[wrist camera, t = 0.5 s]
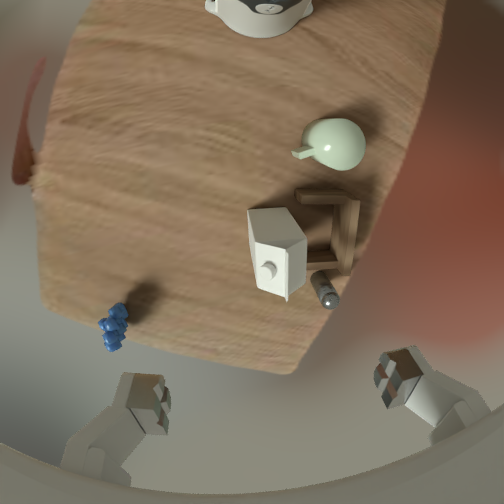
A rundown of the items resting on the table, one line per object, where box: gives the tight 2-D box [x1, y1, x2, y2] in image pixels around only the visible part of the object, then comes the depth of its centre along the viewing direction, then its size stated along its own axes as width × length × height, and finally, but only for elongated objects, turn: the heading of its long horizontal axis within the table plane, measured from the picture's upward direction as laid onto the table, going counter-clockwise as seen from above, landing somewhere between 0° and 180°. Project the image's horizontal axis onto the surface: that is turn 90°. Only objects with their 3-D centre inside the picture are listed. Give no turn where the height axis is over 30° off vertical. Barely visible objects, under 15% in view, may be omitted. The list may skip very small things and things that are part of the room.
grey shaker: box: [310, 271, 340, 309], centre depth 54 cm, size 4×4×10 cm
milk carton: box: [247, 207, 307, 301], centre depth 44 cm, size 7×7×19 cm
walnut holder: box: [295, 189, 360, 276], centre depth 49 cm, size 14×9×8 cm, turn 1°
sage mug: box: [291, 118, 366, 170], centre depth 42 cm, size 8×11×9 cm
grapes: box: [98, 303, 129, 352], centre depth 52 cm, size 12×7×12 cm, turn 164°
